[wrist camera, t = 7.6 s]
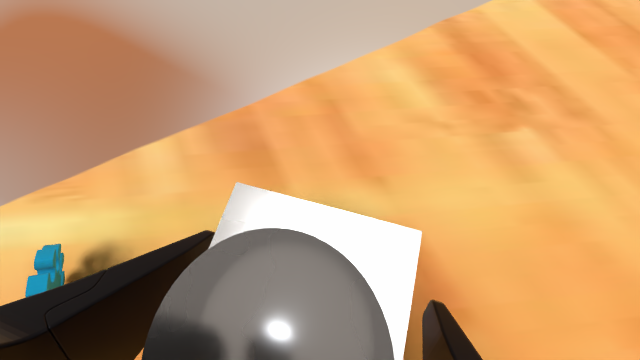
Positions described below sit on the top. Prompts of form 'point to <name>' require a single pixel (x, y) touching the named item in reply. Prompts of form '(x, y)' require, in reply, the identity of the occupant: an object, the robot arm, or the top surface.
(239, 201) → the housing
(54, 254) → the gear
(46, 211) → the top surface
